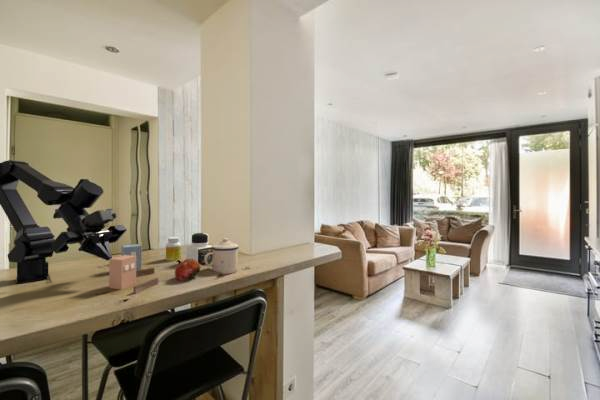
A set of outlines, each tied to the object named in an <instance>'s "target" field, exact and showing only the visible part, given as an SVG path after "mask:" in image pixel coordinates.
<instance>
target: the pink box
mask: <svg viewBox="0 0 600 400" xmlns="http://www.w3.org/2000/svg"><path fill="white" fill-rule="evenodd" d="M108 261H109V262H108V263H109V265H108V267H109V269H108V270H109V272H108V273H109V274H108V275H109V276H108V279H109V280H108V282H109V283H108V285H109V286H108V288H109V289H113V290H114V289H116V290H123V289H127V288H128V287H131V286H134V285H136V284H137V277H136V256H130V255H123V256H121V255H120V256H117V257H116V256H114V257H112V258H111V259H109V260H108Z"/></svg>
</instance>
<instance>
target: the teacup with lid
mask: <svg viewBox="0 0 600 400" xmlns="http://www.w3.org/2000/svg"><path fill="white" fill-rule="evenodd" d="M211 246H212V249H213V252H209V253H207V254H206V255H205V257H204V261H205V264H206V265H207V267H209V268H210V267H211V268H212V272H217V273H220V275H230V274H233V273H236V272H237V271H238V259H239V258H238V256H239V255H238V250H239V249H238V248H239V245H238V244H237V243H234V242H232V241H231V240H229V238H227V237H223V238H222V240H221V241H219V242H218V243H215V244H213V245H211ZM211 254H213V256H212V264H208V262H207V257H208V256H209V255H211Z"/></svg>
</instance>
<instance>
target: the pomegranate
mask: <svg viewBox="0 0 600 400" xmlns="http://www.w3.org/2000/svg"><path fill="white" fill-rule="evenodd" d="M175 263H178V265H177V267H176V268H175V269H174V276H175V279H176V281H180V282H185V281H188V280H189V279H192V278H193V279H194V280H196V279H197V278H196V277H195V276H196V275H197V274H199V272H200V270H201V269H202V265H200V264H199V263H198V262H197V261H196V260H194V259H184V260H183V261H181V260H177V261H175Z"/></svg>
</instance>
